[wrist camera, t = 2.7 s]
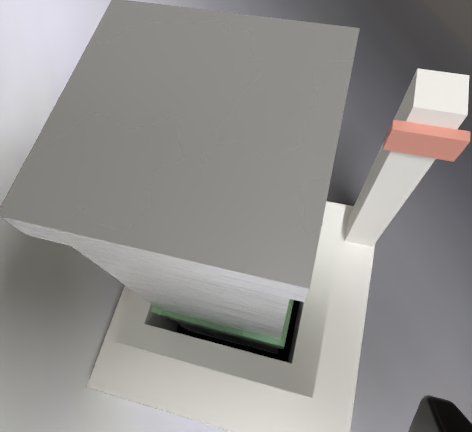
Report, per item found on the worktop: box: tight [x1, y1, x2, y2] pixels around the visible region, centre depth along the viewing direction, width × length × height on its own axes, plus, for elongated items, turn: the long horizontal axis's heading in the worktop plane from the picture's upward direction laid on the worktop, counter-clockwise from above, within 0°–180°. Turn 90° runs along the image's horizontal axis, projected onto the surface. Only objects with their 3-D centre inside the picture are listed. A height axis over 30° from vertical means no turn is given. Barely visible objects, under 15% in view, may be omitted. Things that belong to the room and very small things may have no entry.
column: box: [0, 0, 359, 354], centre depth 12 cm, size 4×4×13 cm
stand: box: [87, 69, 470, 432], centre depth 13 cm, size 10×11×10 cm
